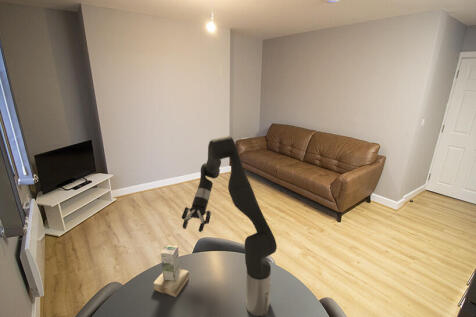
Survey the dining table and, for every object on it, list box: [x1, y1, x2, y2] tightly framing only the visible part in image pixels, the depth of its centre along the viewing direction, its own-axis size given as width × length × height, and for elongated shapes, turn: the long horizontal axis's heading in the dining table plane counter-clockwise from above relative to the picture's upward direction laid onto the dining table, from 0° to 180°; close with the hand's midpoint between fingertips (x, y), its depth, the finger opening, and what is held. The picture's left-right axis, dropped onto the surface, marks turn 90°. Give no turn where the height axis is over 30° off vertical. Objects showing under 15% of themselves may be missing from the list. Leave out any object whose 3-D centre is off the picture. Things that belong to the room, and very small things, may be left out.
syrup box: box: [160, 244, 181, 281], centre depth 101 cm, size 6×6×14 cm
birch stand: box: [153, 268, 190, 298], centre depth 104 cm, size 11×11×4 cm
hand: (192, 230), depth 111 cm, fingers open, 8 cm apart
